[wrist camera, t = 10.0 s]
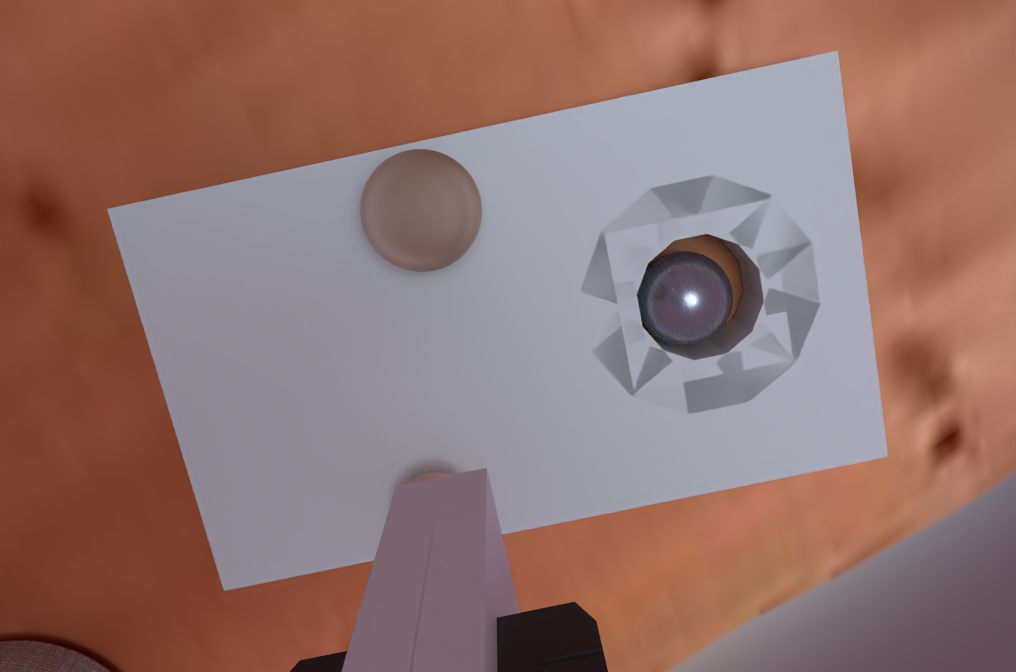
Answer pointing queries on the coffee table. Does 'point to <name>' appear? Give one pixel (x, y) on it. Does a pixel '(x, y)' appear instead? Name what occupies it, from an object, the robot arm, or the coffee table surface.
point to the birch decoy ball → (421, 210)
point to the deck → (515, 323)
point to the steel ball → (684, 298)
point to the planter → (44, 658)
